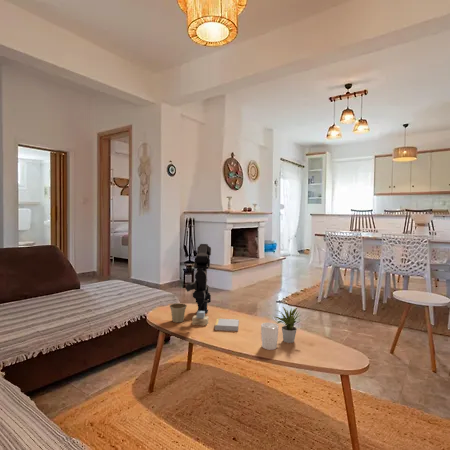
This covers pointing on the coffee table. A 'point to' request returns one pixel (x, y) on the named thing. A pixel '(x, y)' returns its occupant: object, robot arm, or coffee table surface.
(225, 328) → the dock
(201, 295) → the robot arm
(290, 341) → the house plant
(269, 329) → the white cup
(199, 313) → the grey square block
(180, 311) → the flower pot
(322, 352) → the coffee table surface
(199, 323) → the pallet
